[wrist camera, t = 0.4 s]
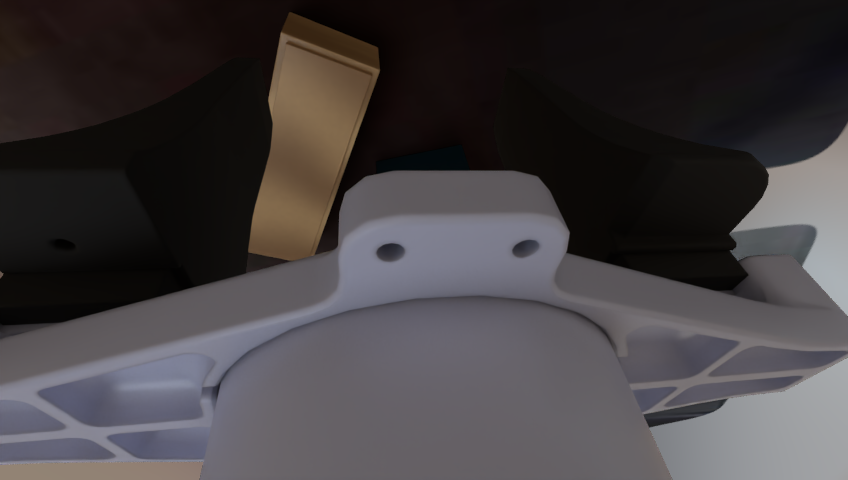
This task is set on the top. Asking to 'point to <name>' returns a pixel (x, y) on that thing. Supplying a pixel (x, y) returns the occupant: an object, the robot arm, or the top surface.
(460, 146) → the watch
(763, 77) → the top surface
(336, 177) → the pencil box
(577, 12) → the top surface
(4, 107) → the top surface
